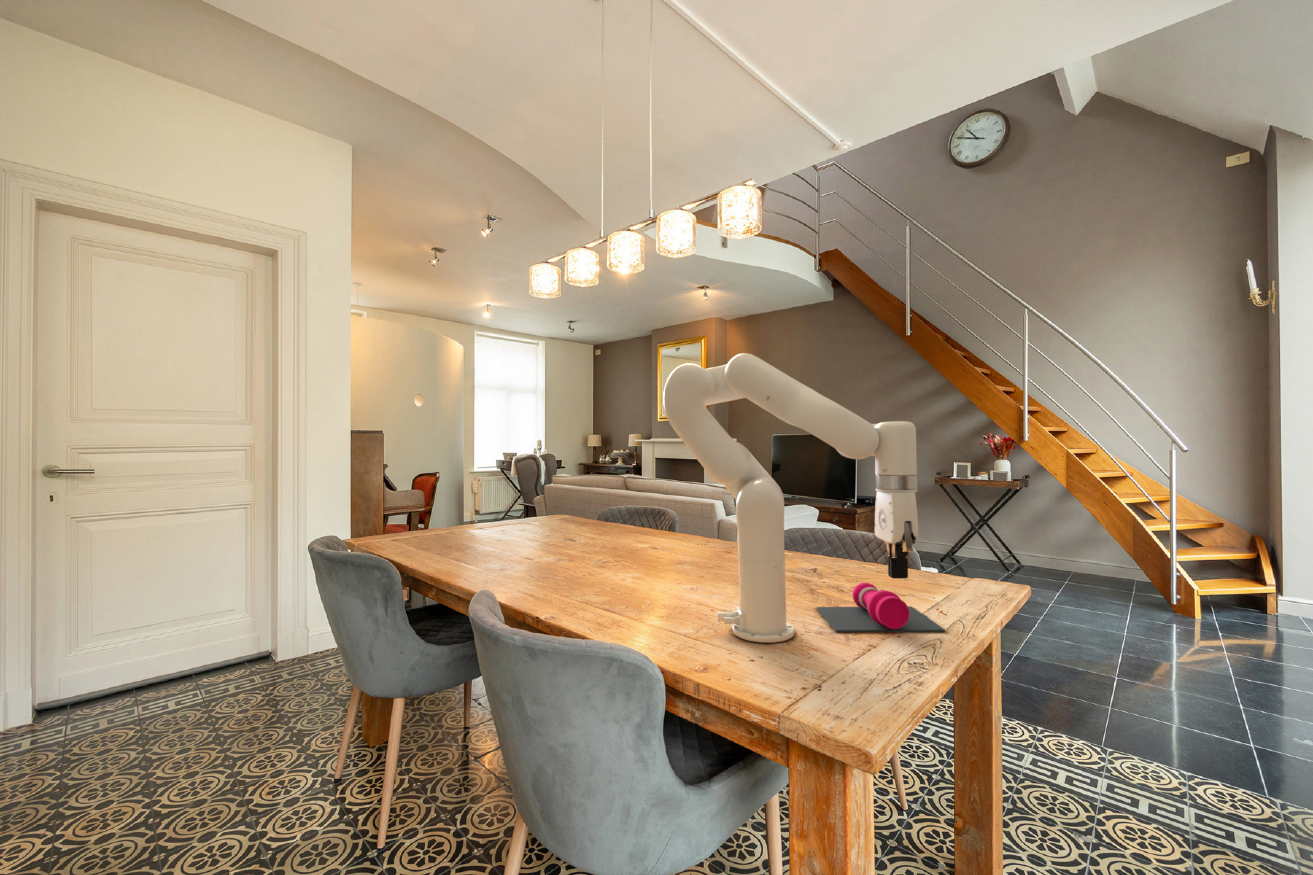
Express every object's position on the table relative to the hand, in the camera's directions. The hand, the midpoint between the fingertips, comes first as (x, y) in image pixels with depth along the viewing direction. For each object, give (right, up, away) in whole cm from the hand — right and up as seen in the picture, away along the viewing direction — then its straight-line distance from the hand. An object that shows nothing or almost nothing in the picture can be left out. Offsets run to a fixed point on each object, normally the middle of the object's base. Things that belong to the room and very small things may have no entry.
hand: (898, 577), depth 105 cm
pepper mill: (+1, -8, +3) cm, 9 cm away
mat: (+1, -13, +13) cm, 18 cm away
